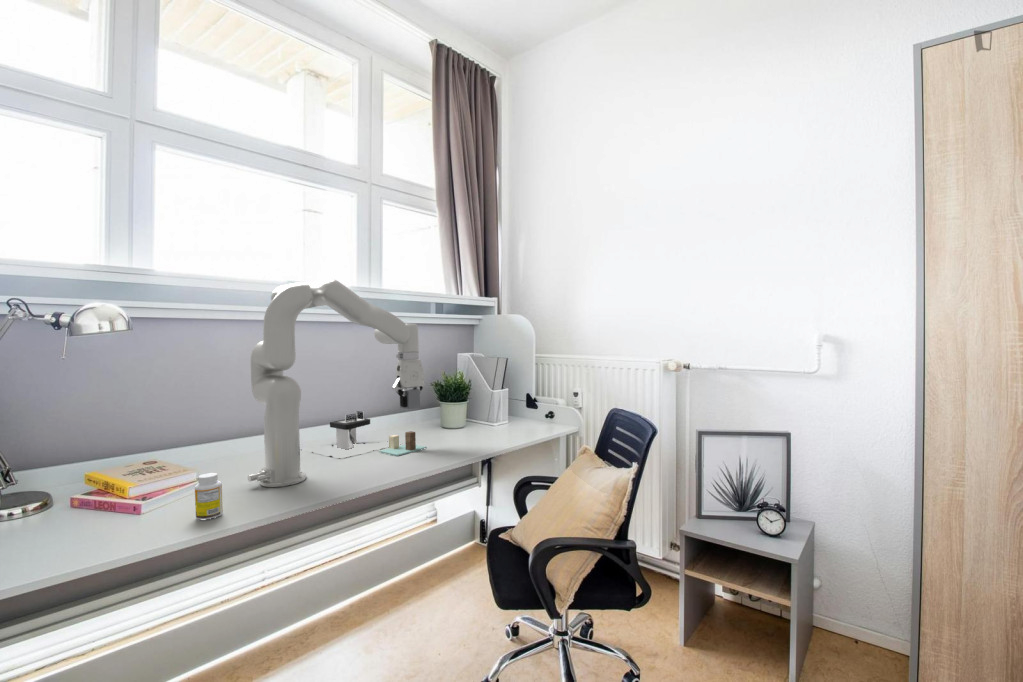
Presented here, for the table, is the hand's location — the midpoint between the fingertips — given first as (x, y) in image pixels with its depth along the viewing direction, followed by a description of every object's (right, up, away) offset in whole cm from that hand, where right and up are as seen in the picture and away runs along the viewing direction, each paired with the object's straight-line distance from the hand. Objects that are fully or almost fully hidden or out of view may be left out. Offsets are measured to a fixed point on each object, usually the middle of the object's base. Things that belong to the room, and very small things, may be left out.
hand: (410, 405), depth 179 cm
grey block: (0, -1, 0) cm, 1 cm away
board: (-3, -17, +1) cm, 17 cm away
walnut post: (0, -17, 0) cm, 17 cm away
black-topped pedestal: (-24, -18, +9) cm, 31 cm away
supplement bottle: (-36, -19, -62) cm, 74 cm away
